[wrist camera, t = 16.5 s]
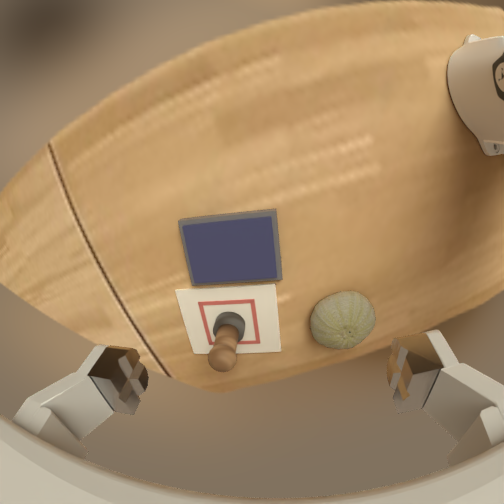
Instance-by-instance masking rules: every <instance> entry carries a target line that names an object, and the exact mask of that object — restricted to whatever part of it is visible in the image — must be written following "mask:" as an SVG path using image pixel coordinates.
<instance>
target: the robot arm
mask: <svg viewBox="0 0 504 504" xmlns="http://www.w3.org/2000/svg"><path fill="white" fill-rule="evenodd" d="M447 76H448V85H449V90H450V94H451V97H452V100H453V103H454V105H455V108H456V110H457V112H458V114H459V115H460V117H461V119H462V120H463V122H464V123H465V124H466V126H467V127H468V128H469V129H470V130H471V131H472V132H473V133H474V135H475V136H476V137H477V139H478V141H479V143H480V145H481V148H482V150H483V152H484V153H485V154H486V155H488V156H494V155H499V154H504V36H497V37H491V38H486V39H481V38H479V37H478V36H476V35H474V34H471V35H467V37H466V39H465V42H464V45H463V46H462V47H460V48H458V49H457V50H456V51H455V52H454V53H453V54H452V56H451V57H450V60H449V63H448V71H447ZM391 350H392V352H393V354H392V355H391V356H390V357H389V358H388V363H387V379H388V382H389V386H390V387H391V388H392V389H394V390H395V393H394V396H393V399H394V402H395V406H396V409H397V413H398V414H399V413H403V412H409V411H413V410H418V409H422V408H423V411H424V412H425V413H427V414H428V415H429V416H430V417H431V418H432V419H433V420H434V421H435V422H437V423H438V424H439V425H440V426H441V427H442V428H443V429H444V430H445V431H447V432H448V433H449V434H450V435H451V436H452V437H453V438H454V439H455V440H457V441H458V443H457V444H456V445H455V446H454V448H453V449H452V450H451V451H450V452H449V454H448V455H447V459H448V463H449V467H448V468H445V469H442V470H440V471H437V472H434V473H431V474H428V475H425V476H422V477H418V478H415V479H412V480H408V481H405V482H401V483H397V484H393V485H388V486H384V487H380V488H375V489H370V490H365V491H358V492H352V493H345V494H338V495H329V496H318V497H305V498H250V497H235V496H225V495H216V494H207V493H201V492H194V491H189V490H183V489H178V488H173V487H169V486H164V485H160V484H156V483H152V482H148V481H144V480H140V479H137V478H134V477H130V476H127V475H124V474H121V473H118V472H115V471H112V470H109V469H106V468H104V467H101V466H99V465H96V464H93V463H91V462H88V461H86V460H84V459H85V457H86V455H87V453H88V450H87V448H86V447H85V446H84V445H83V444H82V443H81V442H80V440H82V439H83V438H84V437H85V436H86V435H88V434H89V433H90V432H91V431H92V430H94V429H95V428H96V427H97V426H99V425H100V424H101V423H102V422H103V421H105V420H106V419H107V418H108V417H109V416H111V415H112V414H113V413H114V411H115V412H120V413H125V414H130V415H134V414H135V411H136V409H137V407H138V405H139V403H140V398H139V395H140V394H142V393H143V392H145V390H146V388H147V386H148V378H149V377H148V373H147V370H146V368H145V366H144V365H143V364H142V363H140V362H139V359H140V356H139V354H138V352H137V350H136V349H133V348H127V347H119V346H111V345H110V346H109V345H102V344H99V345H97V346H96V347H95V348H94V349H93V351H92V352H91V353H90V355H89V356H88V357H87V358H86V360H85V361H84V363H83V364H82V365H81V367H80V368H79V369H78V371H77V372H76V373H71V374H70V375H68V376H66V377H64V378H63V379H61V380H59V381H57V382H56V383H54V384H52V385H50V386H49V387H47V388H45V389H43V390H42V391H39V392H38V393H36V394H34V395H33V396H31V397H29V398H27V400H26V401H25V403H24V404H23V405H22V407H21V408H20V410H19V411H18V412H17V414H16V415H15V417H14V418H13V420H12V421H10V420H9V419H7V418H6V417H4V416H3V415H1V414H0V504H504V386H503V385H501V384H500V383H498V382H497V381H495V380H493V379H491V378H489V377H488V376H486V375H484V374H482V373H481V372H479V371H477V370H475V369H474V368H472V367H470V366H468V365H466V364H464V363H460V364H459V362H458V361H457V359H456V357H455V355H454V353H453V352H452V350H451V348H450V347H449V345H448V343H447V342H446V340H445V338H444V337H443V335H442V334H441V332H440V331H439V330H433V331H428V332H423V333H419V334H414V335H408V336H403V337H397V338H394V339H393V341H392V345H391Z"/></svg>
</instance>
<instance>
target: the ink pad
mask: <svg viewBox="0 0 504 504" xmlns="http://www.w3.org/2000/svg"><path fill="white" fill-rule="evenodd" d="M178 223H179V228H180V233H181V238H182V243H183V247H184V252H185V257H186V261H187V265H188V270H189V274H190V278H191V283H192V286H194V285H212V284H228V283H243V282H257V281H270V280H282V267H281V256H280V245H279V234H278V223H277V213H276V209H267V210H257V211H247V212H237V213H228V214H218V215H210V216H201V217H193V218H185V219H180V220H179V221H178Z"/></svg>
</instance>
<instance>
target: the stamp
mask: <svg viewBox="0 0 504 504" xmlns="http://www.w3.org/2000/svg"><path fill="white" fill-rule="evenodd" d="M244 331H245V321H244V319H243V318H242V317H241V316H240V315H239V314H237V313H235V312H223V313H221V314H219V315H218V316H217V318H216V320H215V323H214V327H213V334H214V336H215V337H216V338H215V342H214V345H213V348H212V349H211V350H210V352H209V354H208V361H209V364H210V366H211V367H212V368H213V369H215V370H216V371H219V372H226V371H229V370H231V369H232V368H233V367H234V366H235V364H236V361H237V355H236V348H237V343H238V342H239V341H241V340H242V338H243V337H244Z"/></svg>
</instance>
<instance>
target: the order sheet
mask: <svg viewBox="0 0 504 504" xmlns="http://www.w3.org/2000/svg"><path fill="white" fill-rule="evenodd" d="M175 292H176V295H177V299H178V303H179V306H180V310H181V313H182V316H183V320H184V323H185V327H186V330H187V333H188V336H189V339H190V343H191V346H192V349H193V352H194V354H209V352H210V350H211V349H212V348H213V345H214V342H215V338H216V337H215V336H214V334H213V327H214V323H215V320H216V318H217V316H218V315H219V314H221V313H223V312H235V313H237V314H239V315H240V316H241V317H242V318H243V319H244V321H245V331H244V337H243V338H242V340H241V341H239V342H238V343H237V348H236V354H237V353H264V352H281V342H280V330H279V319H278V307H277V296H276V286H275V283H272V284H258V285H244V286H229V287H212V288H194V289H176V290H175Z"/></svg>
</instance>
